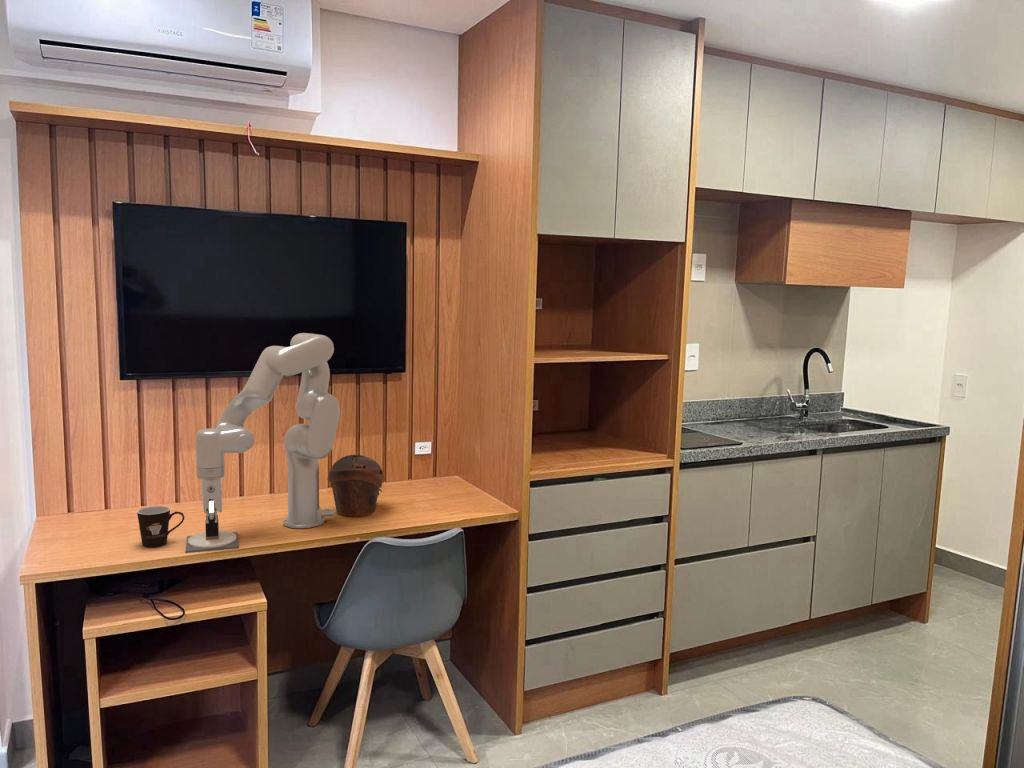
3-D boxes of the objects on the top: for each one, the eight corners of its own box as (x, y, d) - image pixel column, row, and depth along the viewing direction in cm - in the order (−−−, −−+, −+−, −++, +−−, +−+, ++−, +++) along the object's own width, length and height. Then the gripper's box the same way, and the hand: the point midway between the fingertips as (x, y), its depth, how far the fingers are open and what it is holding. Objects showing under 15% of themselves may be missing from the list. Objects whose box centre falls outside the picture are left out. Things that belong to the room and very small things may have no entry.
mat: (237, 533, 233) (237, 531, 233) (238, 547, 220) (238, 546, 220) (187, 537, 228) (187, 535, 228) (185, 552, 215) (185, 551, 215)
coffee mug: (133, 549, 217) (131, 514, 216) (145, 539, 225) (144, 506, 224) (175, 549, 218) (174, 514, 216) (186, 539, 226) (185, 506, 225)
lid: (235, 532, 232) (235, 513, 231) (236, 545, 220) (236, 525, 219) (188, 536, 227) (188, 516, 227) (187, 550, 215) (186, 529, 215)
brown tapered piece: (356, 523, 245) (356, 467, 243) (315, 511, 257) (315, 459, 255) (396, 512, 259) (397, 460, 258) (356, 502, 271) (356, 451, 269)
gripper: (225, 478, 215) (226, 540, 217) (224, 464, 231) (225, 522, 233) (196, 479, 212) (197, 542, 214) (197, 466, 228) (198, 524, 230)
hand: (212, 531), depth 223 cm, fingers open, 6 cm apart
